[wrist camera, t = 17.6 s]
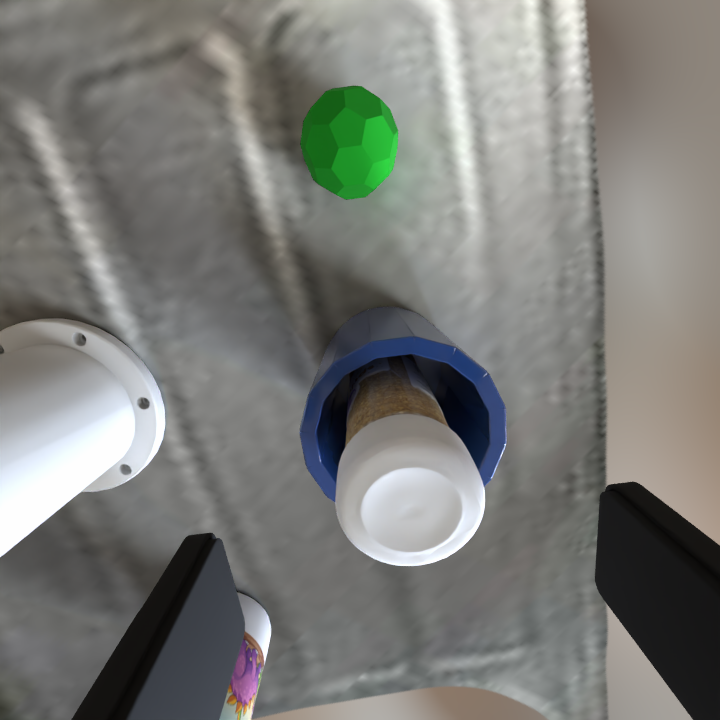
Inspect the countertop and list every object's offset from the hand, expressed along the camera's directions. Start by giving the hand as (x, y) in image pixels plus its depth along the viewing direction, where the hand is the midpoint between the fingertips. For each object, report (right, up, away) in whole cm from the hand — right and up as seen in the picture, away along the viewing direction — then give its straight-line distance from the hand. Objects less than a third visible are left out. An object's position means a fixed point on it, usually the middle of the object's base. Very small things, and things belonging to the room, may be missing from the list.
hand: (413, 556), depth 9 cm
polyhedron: (-2, +17, +12) cm, 21 cm away
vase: (+1, +4, +15) cm, 16 cm away
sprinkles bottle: (0, +4, +15) cm, 15 cm away
